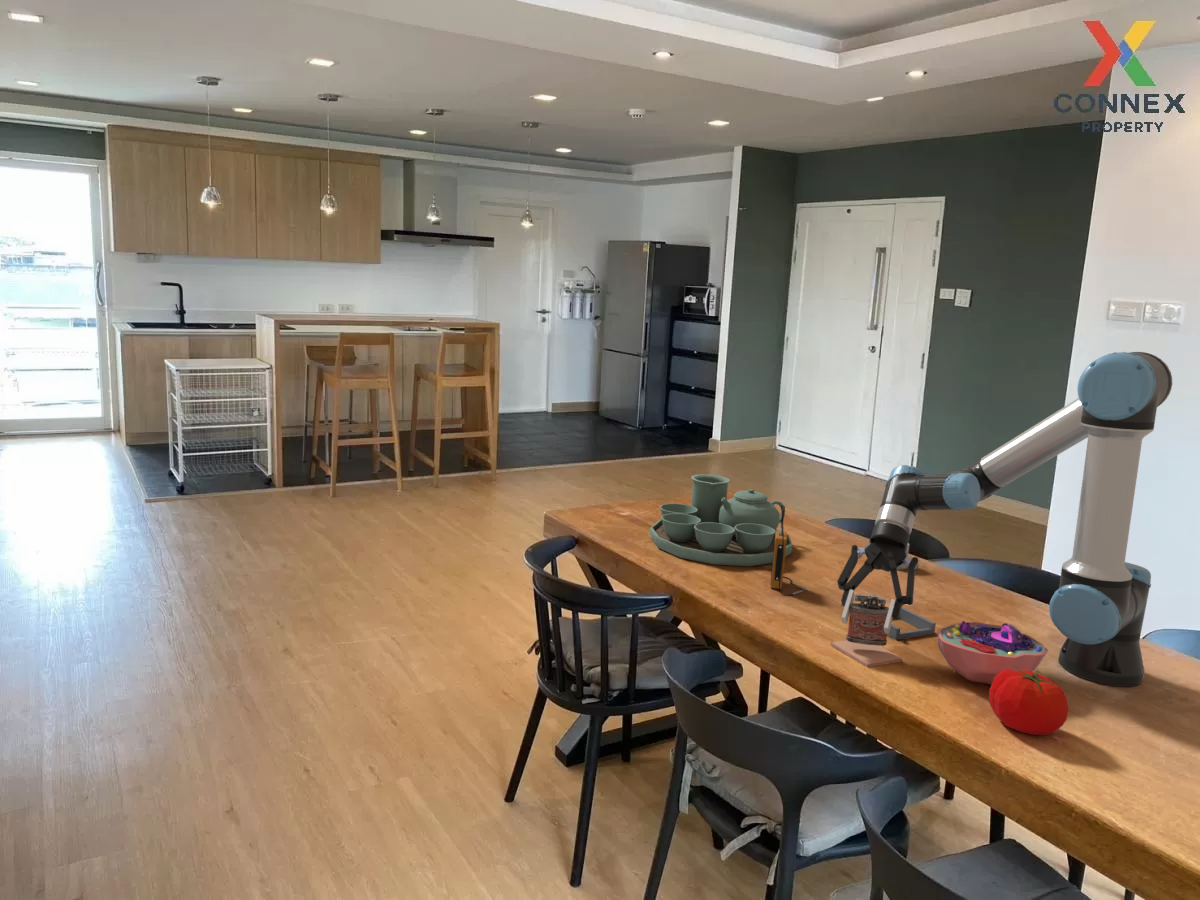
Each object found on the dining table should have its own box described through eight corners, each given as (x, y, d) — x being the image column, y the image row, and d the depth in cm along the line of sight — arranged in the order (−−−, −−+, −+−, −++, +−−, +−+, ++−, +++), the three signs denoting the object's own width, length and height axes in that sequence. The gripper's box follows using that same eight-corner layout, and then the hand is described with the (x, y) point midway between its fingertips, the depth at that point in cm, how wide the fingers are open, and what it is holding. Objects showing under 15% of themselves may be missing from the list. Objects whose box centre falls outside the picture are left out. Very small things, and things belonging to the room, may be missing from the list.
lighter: (884, 640, 182) (890, 594, 180) (887, 646, 178) (894, 600, 176) (844, 636, 183) (850, 590, 181) (847, 642, 179) (852, 596, 177)
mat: (901, 661, 178) (901, 658, 178) (866, 667, 174) (867, 664, 174) (863, 640, 188) (864, 637, 187) (830, 645, 184) (830, 642, 184)
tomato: (999, 705, 161) (1008, 652, 159) (1073, 733, 152) (1082, 678, 150) (972, 723, 154) (981, 668, 152) (1048, 753, 145) (1058, 696, 143)
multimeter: (812, 599, 211) (821, 518, 207) (770, 594, 212) (778, 514, 209) (810, 579, 225) (818, 504, 221) (770, 575, 227) (778, 499, 223)
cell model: (919, 656, 181) (926, 604, 178) (1017, 663, 180) (1025, 611, 178) (948, 694, 164) (957, 637, 162) (1056, 702, 164) (1066, 645, 161)
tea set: (622, 539, 251) (625, 482, 248) (712, 519, 278) (717, 468, 275) (730, 578, 223) (736, 515, 220) (820, 552, 250) (826, 496, 247)
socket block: (934, 633, 193) (935, 623, 193) (895, 640, 189) (897, 629, 188) (897, 615, 203) (898, 605, 203) (859, 620, 198) (861, 610, 198)
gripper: (943, 549, 185) (918, 646, 174) (845, 530, 195) (816, 621, 184) (942, 530, 180) (917, 629, 169) (842, 512, 189) (812, 605, 179)
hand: (864, 625), depth 177 cm, fingers closed on lighter, 8 cm apart
